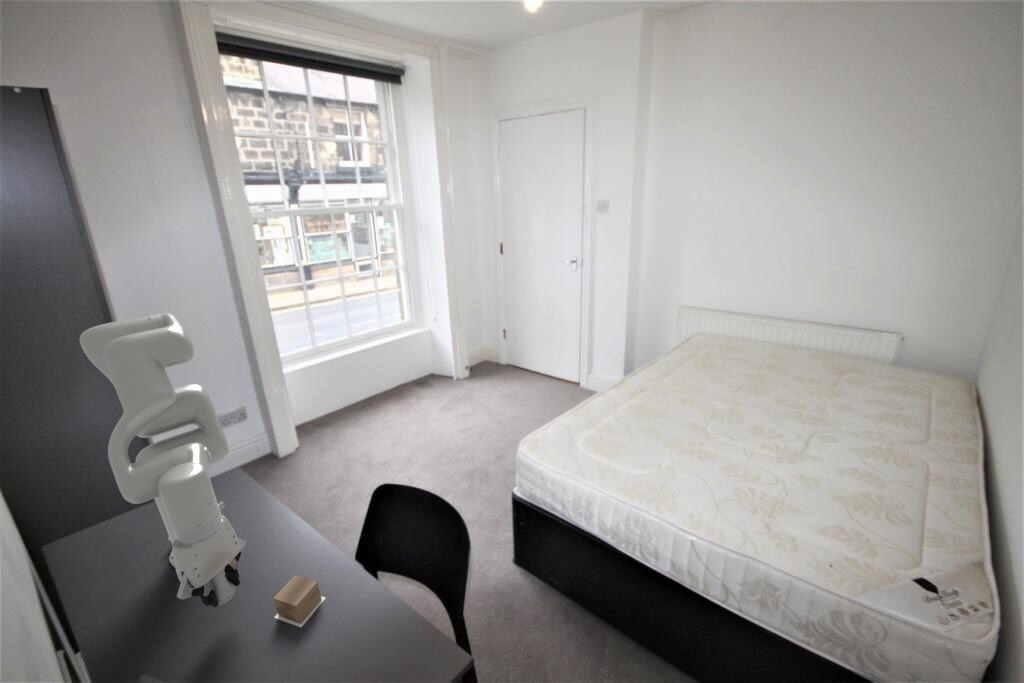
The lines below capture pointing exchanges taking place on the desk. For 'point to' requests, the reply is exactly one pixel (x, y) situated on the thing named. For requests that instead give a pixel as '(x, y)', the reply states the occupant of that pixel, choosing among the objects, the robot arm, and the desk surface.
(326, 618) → the desk surface
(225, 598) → the rook chess piece
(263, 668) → the desk surface
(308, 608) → the walnut block
